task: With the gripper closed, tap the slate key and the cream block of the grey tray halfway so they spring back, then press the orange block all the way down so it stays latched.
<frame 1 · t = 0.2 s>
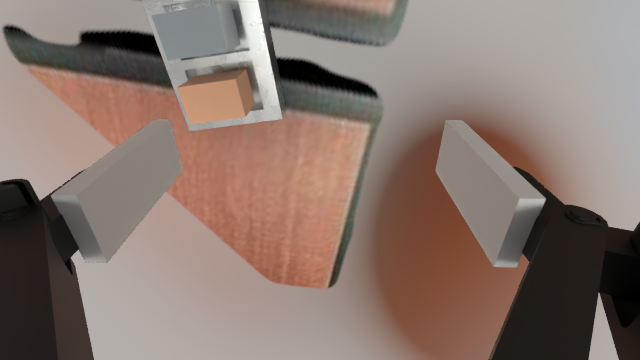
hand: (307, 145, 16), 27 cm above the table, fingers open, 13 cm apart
slate key: (199, 31, 32), point 6 cm above the table, slide at 0.1 cm
orange block: (219, 95, 35), point 6 cm above the table, slide at 0.0 cm
grey tray: (218, 25, 38), on the table
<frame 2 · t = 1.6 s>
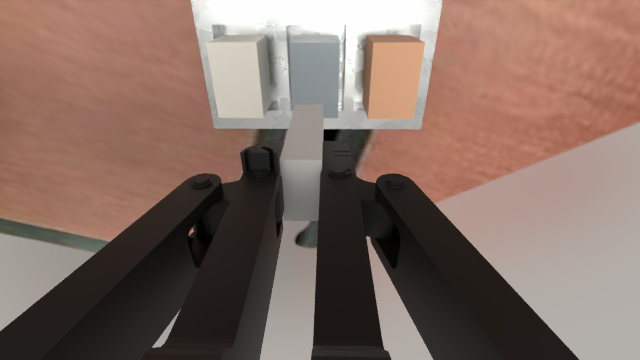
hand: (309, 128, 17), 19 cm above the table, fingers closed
slate key: (315, 75, 29), point 6 cm above the table, slide at 0.1 cm
orange block: (389, 76, 28), point 7 cm above the table, slide at 0.0 cm
cream block: (243, 75, 29), point 6 cm above the table, slide at 0.1 cm
grey tray: (317, 62, 34), on the table
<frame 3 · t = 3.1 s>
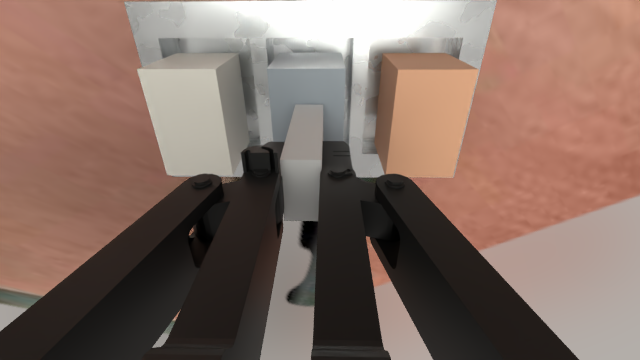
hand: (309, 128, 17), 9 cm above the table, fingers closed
slate key: (309, 111, 20), point 6 cm above the table, slide at 0.3 cm, touching gripper
orange block: (416, 113, 20), point 6 cm above the table, slide at 0.0 cm
cream block: (203, 112, 20), point 6 cm above the table, slide at 0.1 cm
grey tray: (312, 86, 25), on the table
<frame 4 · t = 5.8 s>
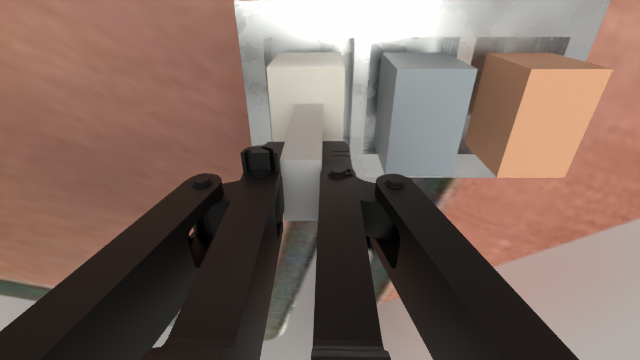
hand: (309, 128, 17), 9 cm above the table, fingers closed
slate key: (415, 112, 20), point 6 cm above the table, slide at 0.1 cm
orange block: (524, 113, 19), point 7 cm above the table, slide at 0.0 cm
cream block: (309, 111, 20), point 6 cm above the table, slide at 0.3 cm, touching gripper
grey tray: (395, 86, 25), on the table
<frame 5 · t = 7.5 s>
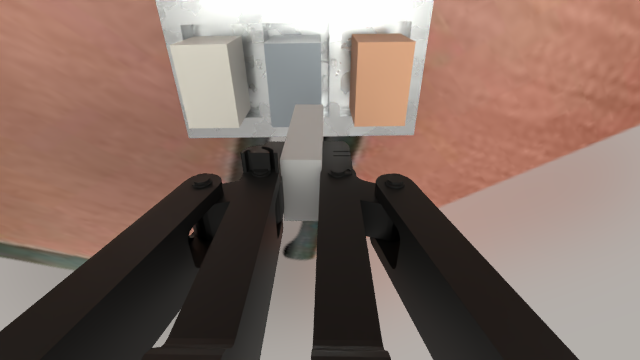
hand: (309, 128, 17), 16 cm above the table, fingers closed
slate key: (296, 79, 26), point 6 cm above the table, slide at 0.1 cm
orange block: (377, 79, 26), point 7 cm above the table, slide at 0.0 cm
cream block: (215, 81, 26), point 6 cm above the table, slide at 0.1 cm
grey tray: (300, 64, 31), on the table
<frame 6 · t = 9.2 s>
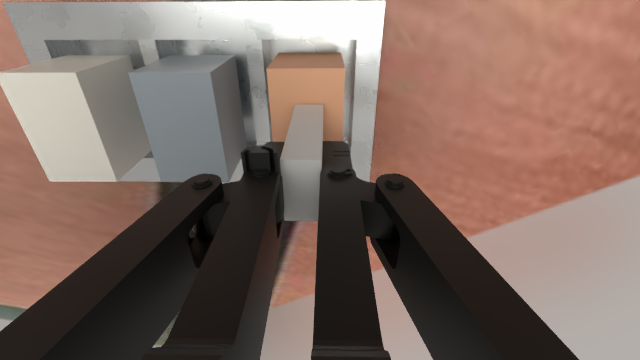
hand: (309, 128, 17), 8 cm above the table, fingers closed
slate key: (199, 116, 19), point 6 cm above the table, slide at 0.1 cm
orange block: (309, 111, 20), point 5 cm above the table, slide at 1.0 cm, touching gripper
cream block: (90, 116, 19), point 6 cm above the table, slide at 0.1 cm
grey tray: (227, 88, 25), on the table
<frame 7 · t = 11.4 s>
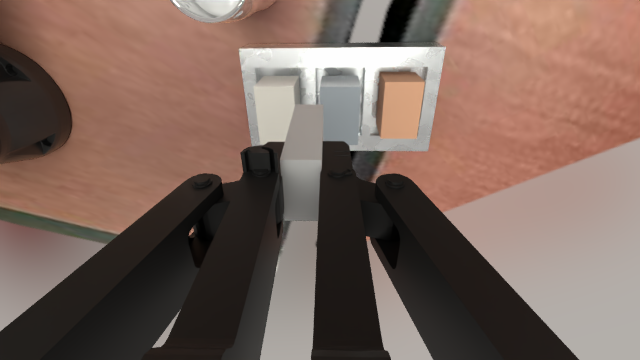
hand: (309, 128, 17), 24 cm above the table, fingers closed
slate key: (339, 109, 35), point 6 cm above the table, slide at 0.1 cm
orange block: (397, 104, 36), point 5 cm above the table, slide at 2.0 cm
cream block: (279, 109, 35), point 6 cm above the table, slide at 0.1 cm
grey tray: (339, 94, 40), on the table
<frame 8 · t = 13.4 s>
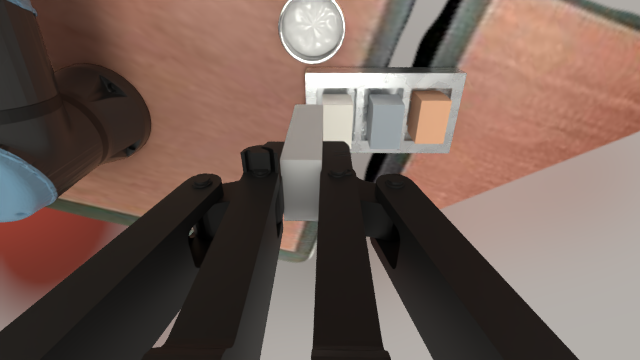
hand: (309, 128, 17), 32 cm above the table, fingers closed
slate key: (384, 121, 44), point 6 cm above the table, slide at 0.1 cm
orange block: (427, 116, 46), point 5 cm above the table, slide at 2.0 cm
beer glass: (316, 18, 44), on the table
cream block: (336, 121, 44), point 6 cm above the table, slide at 0.1 cm
grey tray: (377, 107, 50), on the table
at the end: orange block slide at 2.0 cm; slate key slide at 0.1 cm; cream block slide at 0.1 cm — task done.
